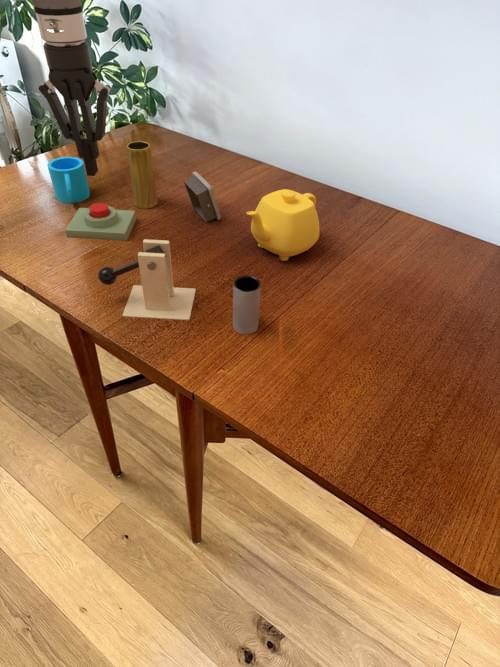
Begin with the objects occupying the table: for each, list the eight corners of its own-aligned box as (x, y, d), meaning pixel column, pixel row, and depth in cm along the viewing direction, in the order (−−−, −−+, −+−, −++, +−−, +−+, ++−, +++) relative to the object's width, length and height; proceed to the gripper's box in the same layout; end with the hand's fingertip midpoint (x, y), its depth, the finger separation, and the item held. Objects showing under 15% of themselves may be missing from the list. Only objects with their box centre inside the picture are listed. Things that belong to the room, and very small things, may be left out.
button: (88, 218, 101) (86, 211, 100) (93, 209, 104) (92, 202, 103) (106, 219, 101) (105, 212, 100) (111, 210, 104) (110, 203, 103)
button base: (67, 238, 102) (63, 222, 99) (81, 216, 109) (77, 200, 106) (126, 242, 102) (123, 226, 99) (136, 219, 109) (134, 203, 106)
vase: (131, 208, 112) (122, 150, 102) (135, 197, 117) (126, 139, 107) (156, 209, 113) (150, 150, 103) (159, 197, 117) (153, 140, 107)
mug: (55, 189, 118) (47, 158, 112) (89, 186, 120) (82, 155, 114) (56, 212, 110) (47, 179, 104) (92, 208, 112) (85, 176, 106)
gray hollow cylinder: (232, 337, 81) (232, 291, 74) (233, 320, 84) (233, 274, 77) (258, 338, 81) (261, 292, 74) (257, 321, 84) (260, 275, 77)
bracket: (122, 320, 83) (110, 260, 74) (134, 289, 89) (124, 231, 81) (189, 324, 83) (185, 265, 74) (196, 293, 89) (193, 235, 81)
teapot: (332, 246, 103) (342, 193, 95) (266, 279, 93) (270, 223, 85) (289, 221, 111) (294, 170, 102) (223, 249, 101) (223, 195, 92)
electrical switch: (222, 220, 110) (218, 184, 103) (202, 227, 108) (197, 190, 102) (206, 203, 116) (201, 168, 109) (187, 209, 114) (181, 174, 108)
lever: (103, 290, 82) (92, 277, 80) (108, 280, 84) (97, 266, 83) (165, 266, 78) (154, 251, 76) (168, 256, 80) (158, 241, 78)
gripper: (19, 44, 77) (55, 179, 94) (96, 48, 77) (119, 182, 93) (36, 35, 83) (67, 163, 99) (108, 38, 83) (128, 166, 99)
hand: (92, 172), depth 96 cm, fingers closed
